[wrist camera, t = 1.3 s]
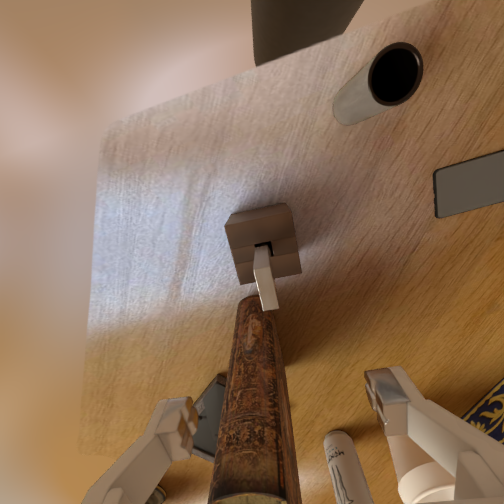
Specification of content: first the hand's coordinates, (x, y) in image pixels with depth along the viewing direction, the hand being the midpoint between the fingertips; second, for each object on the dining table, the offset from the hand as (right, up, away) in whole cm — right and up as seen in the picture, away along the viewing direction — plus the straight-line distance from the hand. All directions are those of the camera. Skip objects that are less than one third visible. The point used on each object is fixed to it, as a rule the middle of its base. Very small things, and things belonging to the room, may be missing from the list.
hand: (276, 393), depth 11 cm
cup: (+29, -27, +37) cm, 54 cm away
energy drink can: (+17, -33, +39) cm, 54 cm away
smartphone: (+31, +16, +21) cm, 41 cm away
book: (+1, -8, +31) cm, 32 cm away
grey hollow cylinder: (+11, +25, +19) cm, 33 cm away
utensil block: (+1, +9, +24) cm, 26 cm away
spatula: (+1, +9, +24) cm, 26 cm away
